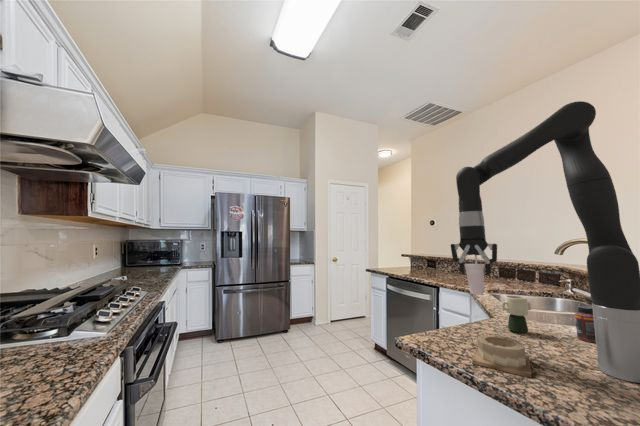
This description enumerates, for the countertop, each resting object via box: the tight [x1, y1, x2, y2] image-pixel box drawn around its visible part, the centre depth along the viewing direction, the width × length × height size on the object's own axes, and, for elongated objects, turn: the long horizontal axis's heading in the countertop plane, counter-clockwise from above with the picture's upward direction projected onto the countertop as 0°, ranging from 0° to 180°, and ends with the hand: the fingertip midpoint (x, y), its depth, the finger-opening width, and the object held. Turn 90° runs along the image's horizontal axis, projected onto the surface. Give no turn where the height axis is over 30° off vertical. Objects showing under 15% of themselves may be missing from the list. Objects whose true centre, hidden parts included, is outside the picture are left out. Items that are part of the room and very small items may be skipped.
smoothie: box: [464, 255, 486, 296], centre depth 90 cm, size 6×6×14 cm
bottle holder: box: [471, 334, 532, 379], centre depth 76 cm, size 13×13×6 cm
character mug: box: [501, 294, 532, 334], centre depth 102 cm, size 11×7×13 cm, turn 90°
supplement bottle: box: [574, 305, 596, 344], centre depth 94 cm, size 6×6×11 cm
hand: (475, 274), depth 89 cm, fingers closed on smoothie, 6 cm apart
